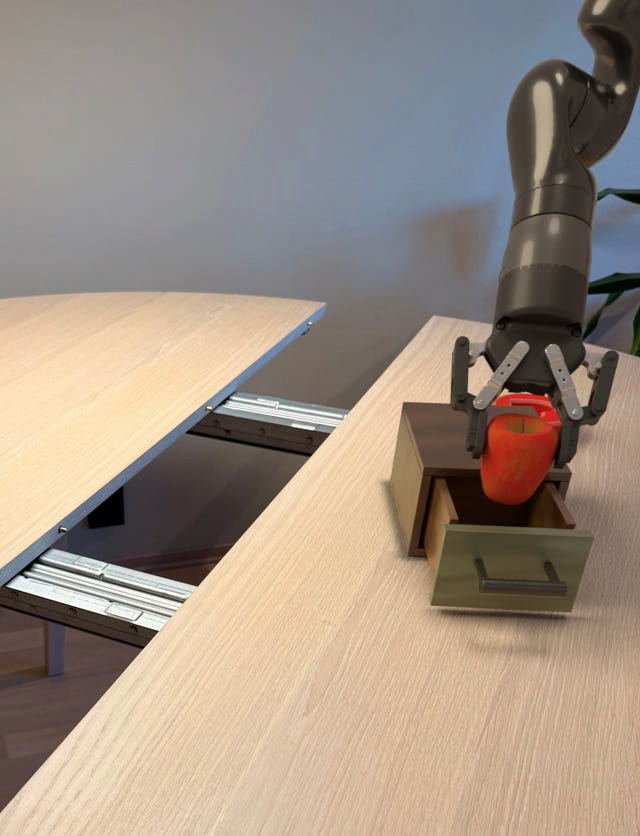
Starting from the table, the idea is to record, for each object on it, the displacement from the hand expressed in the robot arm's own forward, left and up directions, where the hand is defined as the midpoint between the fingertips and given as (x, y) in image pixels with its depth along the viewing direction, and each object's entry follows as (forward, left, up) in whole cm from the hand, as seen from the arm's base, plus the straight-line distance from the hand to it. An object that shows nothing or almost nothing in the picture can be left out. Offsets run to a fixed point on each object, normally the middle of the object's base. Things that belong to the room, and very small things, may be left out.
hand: (518, 460), depth 85 cm
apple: (0, -2, -5) cm, 5 cm away
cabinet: (0, -14, -14) cm, 20 cm away
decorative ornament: (-12, -38, -14) cm, 42 cm away
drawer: (0, -1, -13) cm, 13 cm away
